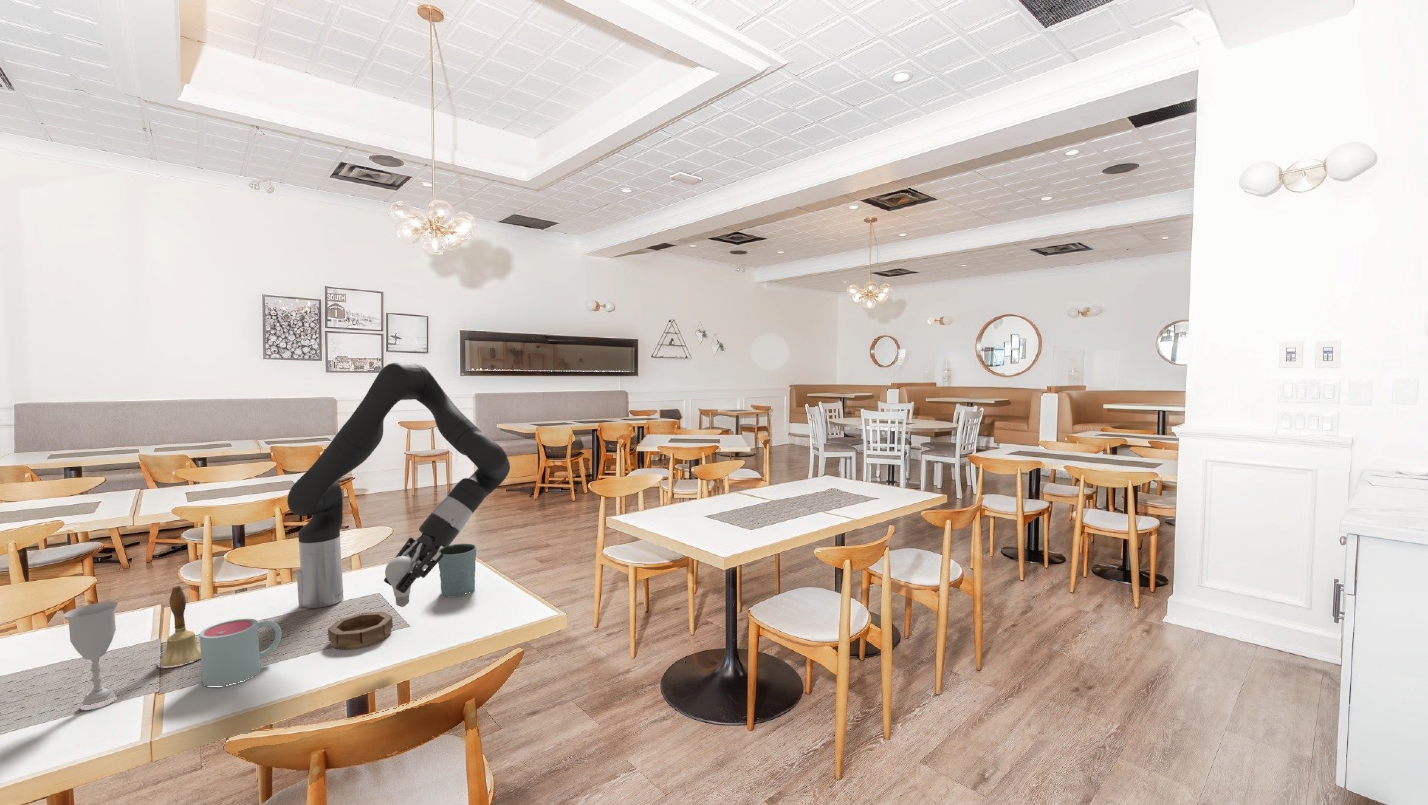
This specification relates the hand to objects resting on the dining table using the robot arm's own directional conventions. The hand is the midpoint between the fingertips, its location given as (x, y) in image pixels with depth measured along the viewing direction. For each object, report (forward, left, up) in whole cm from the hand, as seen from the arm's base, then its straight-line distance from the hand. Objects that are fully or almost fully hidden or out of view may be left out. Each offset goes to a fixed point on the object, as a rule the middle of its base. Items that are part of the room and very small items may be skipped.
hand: (393, 587), depth 131 cm
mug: (-29, -2, -15) cm, 33 cm away
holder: (-12, +11, -15) cm, 22 cm away
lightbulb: (+1, +1, -5) cm, 5 cm away
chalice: (-49, -11, -15) cm, 52 cm away
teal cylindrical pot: (+2, +38, -15) cm, 41 cm away
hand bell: (-46, +6, -15) cm, 49 cm away
